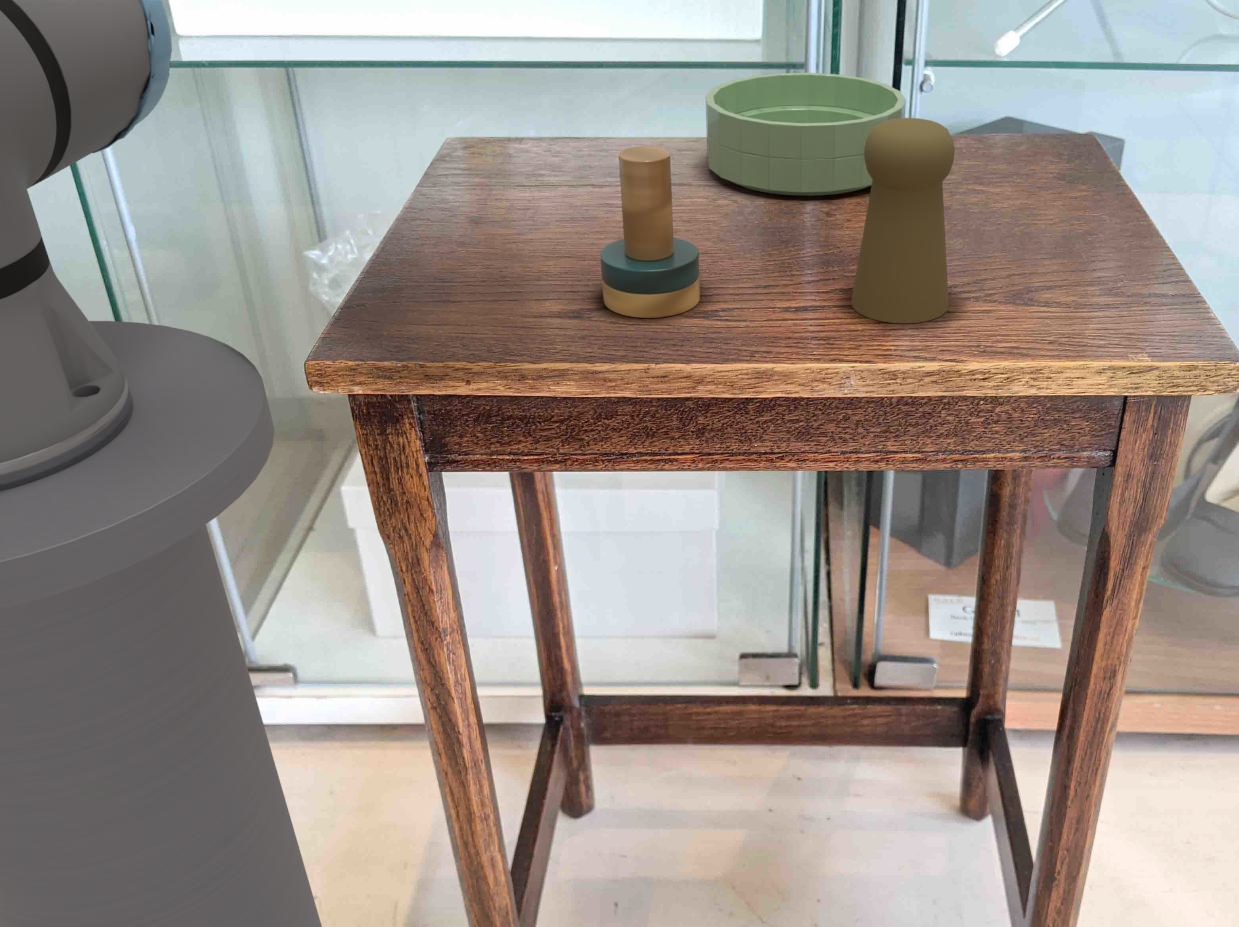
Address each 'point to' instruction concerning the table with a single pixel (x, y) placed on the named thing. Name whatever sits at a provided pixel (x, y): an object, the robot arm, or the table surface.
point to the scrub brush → (648, 244)
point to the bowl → (796, 131)
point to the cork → (904, 223)
